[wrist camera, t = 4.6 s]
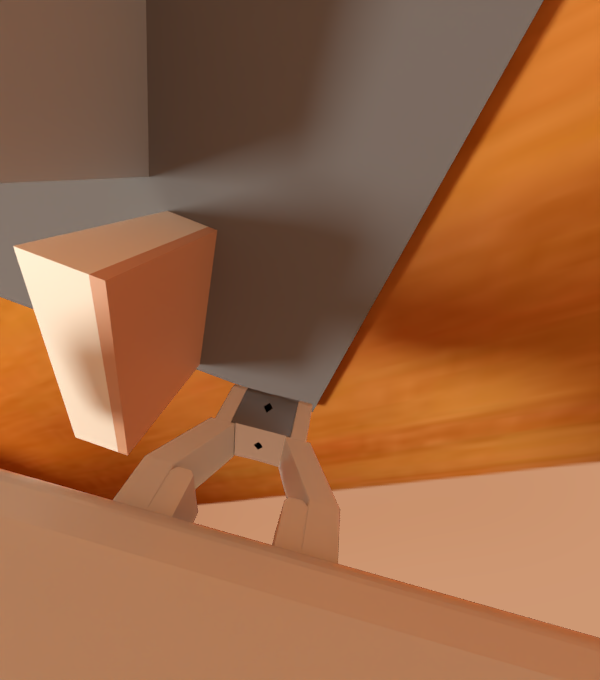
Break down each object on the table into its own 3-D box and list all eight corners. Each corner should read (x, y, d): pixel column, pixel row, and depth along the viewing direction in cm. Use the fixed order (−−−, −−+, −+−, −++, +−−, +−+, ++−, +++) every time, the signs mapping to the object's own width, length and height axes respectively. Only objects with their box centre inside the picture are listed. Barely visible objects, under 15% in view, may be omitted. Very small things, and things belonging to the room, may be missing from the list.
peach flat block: (199, 364, 16) (127, 455, 11) (164, 351, 15) (75, 437, 11) (217, 230, 11) (104, 280, 6) (167, 210, 11) (12, 245, 6)
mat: (313, 404, 17) (312, 412, 16) (-191, 218, 15) (-209, 219, 15) (565, -52, 6) (583, -71, 6) (-880, -714, 5) (-1012, -810, 5)
